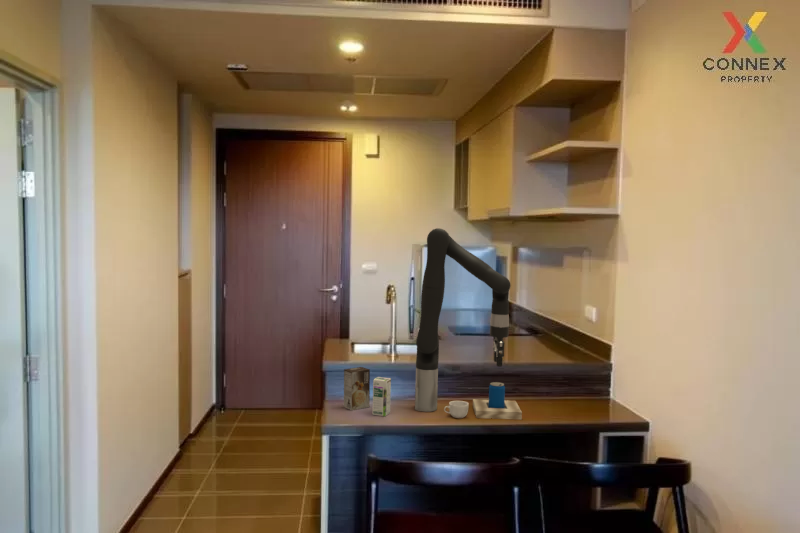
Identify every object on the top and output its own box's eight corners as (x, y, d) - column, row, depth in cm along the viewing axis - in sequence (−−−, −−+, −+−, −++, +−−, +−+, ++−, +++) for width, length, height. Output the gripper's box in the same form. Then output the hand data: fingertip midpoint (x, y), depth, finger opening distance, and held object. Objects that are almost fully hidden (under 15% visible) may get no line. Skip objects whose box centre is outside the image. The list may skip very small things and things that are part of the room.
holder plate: (476, 417, 231) (476, 410, 231) (472, 406, 247) (473, 399, 247) (521, 419, 231) (521, 412, 230) (515, 407, 246) (515, 400, 246)
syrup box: (371, 415, 232) (372, 379, 231) (377, 411, 237) (378, 376, 237) (385, 416, 230) (386, 380, 229) (390, 412, 236) (391, 377, 235)
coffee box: (361, 403, 247) (361, 366, 247) (369, 407, 242) (370, 369, 242) (343, 407, 242) (343, 369, 241) (351, 410, 237) (352, 372, 236)
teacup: (464, 413, 237) (464, 400, 237) (471, 419, 230) (471, 405, 230) (441, 414, 235) (441, 401, 235) (446, 420, 228) (447, 406, 227)
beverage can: (503, 415, 235) (504, 386, 234) (487, 414, 236) (488, 385, 236) (504, 411, 241) (505, 382, 241) (488, 409, 243) (489, 381, 242)
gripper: (488, 321, 244) (486, 359, 245) (492, 327, 230) (490, 367, 231) (506, 322, 244) (504, 360, 245) (511, 327, 230) (509, 368, 230)
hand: (497, 364), depth 238 cm, fingers open, 8 cm apart
